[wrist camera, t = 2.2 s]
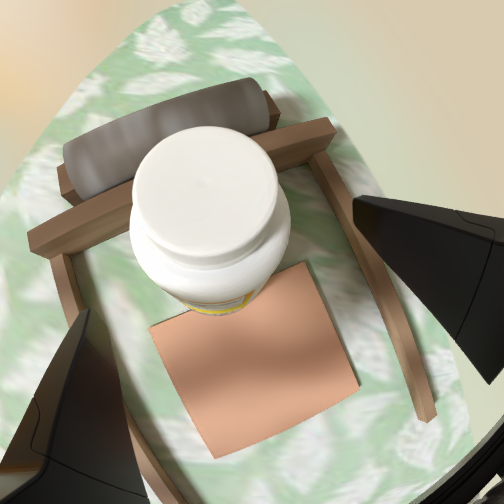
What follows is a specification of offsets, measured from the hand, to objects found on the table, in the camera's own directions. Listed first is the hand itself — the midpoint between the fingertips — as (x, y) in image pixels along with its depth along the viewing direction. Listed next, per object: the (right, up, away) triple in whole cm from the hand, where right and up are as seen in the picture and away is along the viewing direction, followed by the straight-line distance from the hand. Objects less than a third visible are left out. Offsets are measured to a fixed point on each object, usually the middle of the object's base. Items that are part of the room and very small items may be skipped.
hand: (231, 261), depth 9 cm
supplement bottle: (-1, -1, +9) cm, 9 cm away
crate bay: (0, -4, +8) cm, 9 cm away
